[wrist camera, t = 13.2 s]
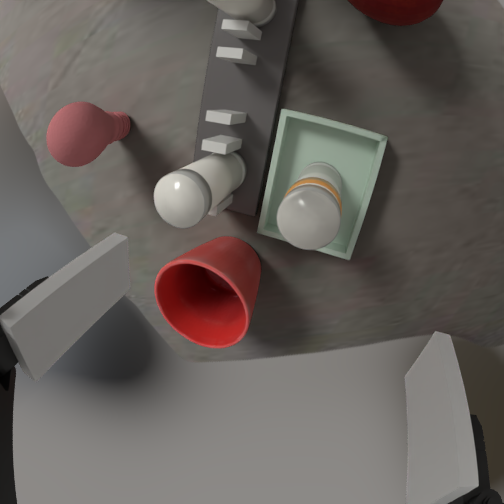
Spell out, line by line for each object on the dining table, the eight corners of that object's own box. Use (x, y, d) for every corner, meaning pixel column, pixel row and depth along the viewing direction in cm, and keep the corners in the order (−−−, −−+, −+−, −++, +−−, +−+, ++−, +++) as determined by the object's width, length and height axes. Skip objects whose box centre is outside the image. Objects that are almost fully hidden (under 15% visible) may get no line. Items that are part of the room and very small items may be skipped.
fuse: (210, 145, 32) (155, 167, 22) (250, 154, 31) (208, 180, 22) (205, 183, 34) (152, 220, 25) (243, 193, 33) (201, 235, 24)
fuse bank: (229, -23, 23) (209, -41, 18) (302, -19, 22) (293, -40, 17) (193, 196, 36) (169, 211, 32) (257, 213, 35) (241, 232, 30)
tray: (286, 108, 29) (281, 108, 27) (384, 135, 27) (387, 137, 25) (262, 224, 35) (256, 233, 33) (349, 250, 34) (349, 260, 31)
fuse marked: (303, 156, 30) (282, 181, 21) (347, 168, 29) (349, 199, 20) (294, 197, 32) (270, 240, 23) (336, 209, 31) (331, 257, 22)
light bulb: (155, 112, 33) (83, 122, 22) (133, 161, 36) (65, 187, 26) (116, 89, 33) (43, 95, 22) (98, 135, 36) (29, 154, 26)
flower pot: (198, 295, 43) (164, 339, 34) (188, 221, 38) (144, 255, 30) (273, 305, 40) (251, 357, 32) (272, 226, 35) (246, 266, 27)
